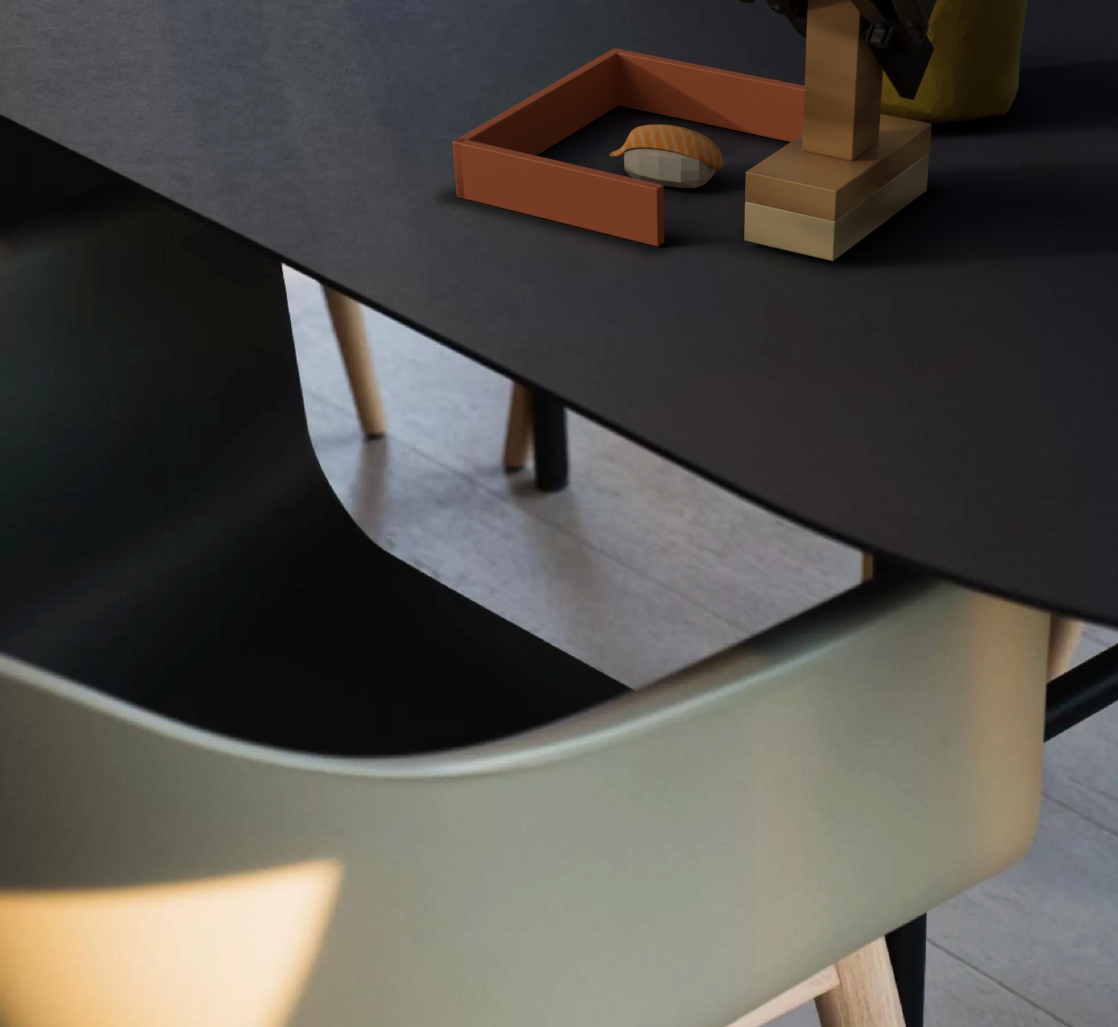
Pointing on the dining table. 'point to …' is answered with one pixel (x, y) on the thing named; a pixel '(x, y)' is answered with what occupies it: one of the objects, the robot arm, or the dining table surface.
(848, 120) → the brown boxy piece
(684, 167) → the sushi
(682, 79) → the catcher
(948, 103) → the mug
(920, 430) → the dining table surface
